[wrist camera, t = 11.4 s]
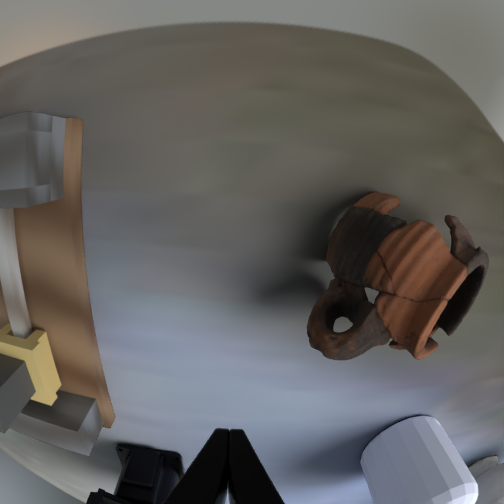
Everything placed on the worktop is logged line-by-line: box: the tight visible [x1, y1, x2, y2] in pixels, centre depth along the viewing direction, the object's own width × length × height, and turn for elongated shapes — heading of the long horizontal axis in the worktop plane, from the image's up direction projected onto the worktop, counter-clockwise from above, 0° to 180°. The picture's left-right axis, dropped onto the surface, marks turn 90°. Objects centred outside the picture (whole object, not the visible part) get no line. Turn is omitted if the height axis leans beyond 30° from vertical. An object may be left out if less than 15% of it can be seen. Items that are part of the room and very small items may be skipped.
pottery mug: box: [307, 192, 489, 360], centre depth 18 cm, size 12×10×8 cm
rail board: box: [0, 111, 115, 456], centre depth 17 cm, size 24×11×6 cm, turn 177°
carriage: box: [0, 323, 61, 434], centre depth 16 cm, size 5×5×8 cm
